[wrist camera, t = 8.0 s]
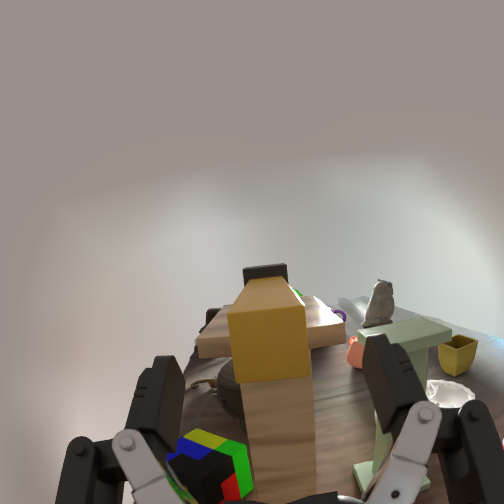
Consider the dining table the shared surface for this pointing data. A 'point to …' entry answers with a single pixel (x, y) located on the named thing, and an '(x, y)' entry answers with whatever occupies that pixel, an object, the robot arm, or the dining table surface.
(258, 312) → the yellow bar
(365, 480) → the green pedestal stand
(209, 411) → the dining table surface
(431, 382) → the medallion
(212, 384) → the seahorse
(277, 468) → the wooden pedestal
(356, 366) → the sugar bowl
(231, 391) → the pot
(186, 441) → the puzzle toy
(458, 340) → the flower pot
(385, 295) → the figurine
